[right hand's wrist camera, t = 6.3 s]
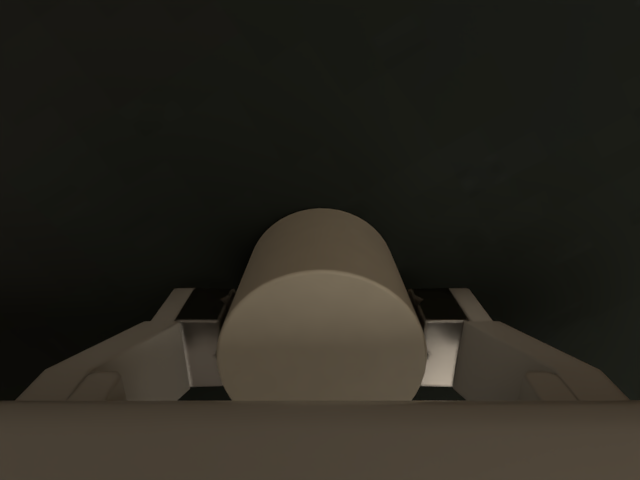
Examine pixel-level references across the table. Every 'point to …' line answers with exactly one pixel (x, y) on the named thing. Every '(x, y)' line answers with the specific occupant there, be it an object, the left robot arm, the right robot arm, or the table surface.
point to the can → (321, 317)
